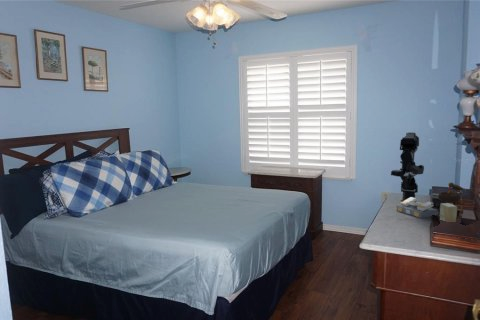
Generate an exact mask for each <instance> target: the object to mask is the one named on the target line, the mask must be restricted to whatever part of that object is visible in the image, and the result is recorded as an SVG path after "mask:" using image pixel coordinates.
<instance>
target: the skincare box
mask: <svg viewBox="0 0 480 320" xmlns="http://www.w3.org/2000/svg"><path fill="white" fill-rule="evenodd" d="M457 210H458V206H457V205H456V206H455V205H453V203H441V204H440V211H439V213H440V220H443V221H446V222H456V217H457Z"/></svg>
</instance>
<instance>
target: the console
mask: <svg viewBox="0 0 480 320" xmlns="http://www.w3.org/2000/svg"><path fill="white" fill-rule="evenodd" d="M417 207H418V206H414V205H408V206H407V207H405V206H402V205H401V204H399V205H396V212H399V213H403V214H406V215H409V216H413V217H415V218H418V219H424V218H429V217H430V218H431V217H432V216H431V215H435V216H438V210H437V209H433V208H431V207H430V208H428V209H426V210H424V211H421V210H417Z"/></svg>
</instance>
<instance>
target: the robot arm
mask: <svg viewBox="0 0 480 320" xmlns="http://www.w3.org/2000/svg"><path fill="white" fill-rule="evenodd" d="M419 146H420V137H419V136H418V135H417V134H416V132H406V135H405V136H404V137H402V138H401V139H400V143H399V151H402V152H401V154H400V164H401V168H400V169H393V170H391V171H390V176H393V177H399V178H400V179H401V182H400V183H401V184H400V192H401V193H402V199H401V200H400V202H403V201H405V200H406V199H408V198H410V197H413V198H416V194H418V191H419V190H418V189H419V185H418V184H417V182H416V178H415V177H416V176H417V175H422V174H424V171H425V166H424V165H423V164H419V165H416V162H415V153H416V152H417V151H418V149H419V148H418V147H419ZM415 202H417V200H416V201H415Z"/></svg>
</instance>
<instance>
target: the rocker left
mask: <svg viewBox="0 0 480 320" xmlns="http://www.w3.org/2000/svg"><path fill="white" fill-rule="evenodd" d="M409 201H413V202H415V201H416V202H417V198H416V197H415V198H413V197H410V198H408V199H406V200H405V201H400V205H402V206H405V207H407V206H408V205H410V204H409Z"/></svg>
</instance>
